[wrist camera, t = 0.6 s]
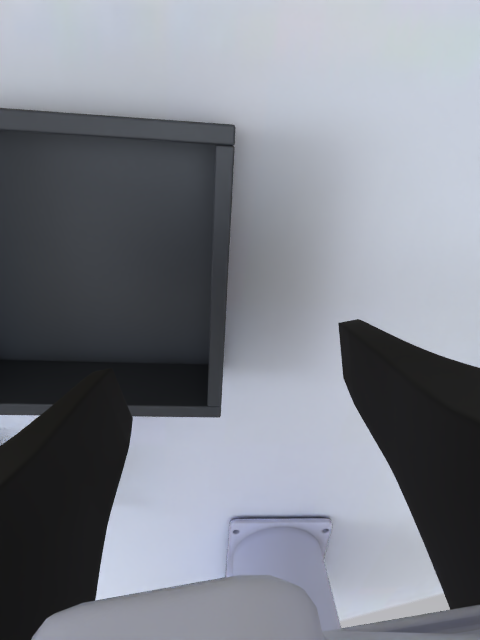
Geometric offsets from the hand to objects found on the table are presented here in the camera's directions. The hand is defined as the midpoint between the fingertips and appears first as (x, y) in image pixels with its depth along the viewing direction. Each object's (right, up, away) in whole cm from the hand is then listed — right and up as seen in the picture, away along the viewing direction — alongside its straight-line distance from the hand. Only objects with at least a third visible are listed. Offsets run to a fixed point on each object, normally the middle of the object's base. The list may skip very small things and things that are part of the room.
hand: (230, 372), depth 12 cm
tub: (-7, +5, +8) cm, 12 cm away
